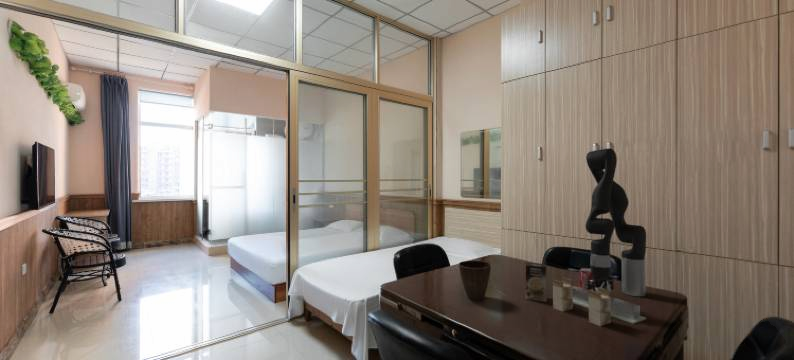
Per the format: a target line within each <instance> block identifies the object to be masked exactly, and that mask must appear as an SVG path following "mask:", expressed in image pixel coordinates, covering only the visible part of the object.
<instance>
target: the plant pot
mask: <svg viewBox="0 0 794 360" xmlns="http://www.w3.org/2000/svg"><path fill="white" fill-rule="evenodd" d="M491 266H492V264H491V263H489V262H487V261H482V260H465V261H464V260H463V261H460V262H459V263H458V268H459V273H460V278H461V283H462V285H463V288H464V291H465V294H466V296H467V299H469V298H470V299H469V300H472V299H473V300H472V301H480V300H483V299H484V298H485V294H486V292H487V289H488V285H489V281H490V274H491Z"/></svg>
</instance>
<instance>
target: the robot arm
mask: <svg viewBox="0 0 794 360" xmlns="http://www.w3.org/2000/svg"><path fill="white" fill-rule="evenodd" d="M585 159H586V163H587V166H588V169H589V171H590V172H591V174H592V176H593V177H594V180H595V182H596V184H597V185H596V186H595V188H594V189H593V192H592V195H591V205H590V206H591V207H590V211H589V215H588V217H587V219H586V221H585V230H586V232H587V233H588V234H590V235H603V236H604V237H603V238H599V239H592V240H591V241H590V257H589V258H590V261H589V263H590V269H591V274H592V275H593V276H594V278H593V280H590V279H589V280H588V290H591V289H592V291H595V290H596V292H598V288H603V289H606V290H610V293H612V291H614V289H615V287H614V286H615V285H614V283H615V282H614V277H613V276H612V259H611V240H612V237H613V234H614V231H615V235H616V238H617V239H618V241H620V243H621V242H622V243H625V244H630V245H632V247H631V248H629V249H624V250H622V251H621V253H620V254H621V255H620V256H621V292H622V293H623V294H624V295H625V294H626V295H628V296H632V297H645V296H646V294H647V293H646V291H647V290H646V267H645V266H646V262H645V260H646V259H645V257H646V252H647V251H646V250H647V249H646V248H647V232H646V229H645V227H644V226H642V225H637V224H636V225H635V224H630V223H629V224H628V223H627V222H626V219H625V213H626V211H627V210H628V207H629V204H630V203H629V198H628V196H627V193H626V191H625V189H624V188H623V187H622V186H621V184H619V183H617V182H616V181H615V180H614V179H615V173H616V169H617V162H618V157H617V153H616V151H615V150H614V149H613V148H611V147H610V148H602V149H597V150H592V151H589V152H588V153H586V158H585ZM606 214H609V215H610V218H604V217H603V218H601V217H599V216H601V215H606ZM595 286H596V288H595Z"/></svg>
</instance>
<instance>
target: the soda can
mask: <svg viewBox="0 0 794 360" xmlns="http://www.w3.org/2000/svg"><path fill="white" fill-rule="evenodd" d="M593 278H594V276H593V275H592V274H591V268H589V267H588V268H587V267H581V268H580V270H579V273H578V287H579V288H583V289H586V290H588V280H589V279H590V280H593ZM595 288H596V286H595ZM591 290H592V289H591ZM595 292H596V290H595Z"/></svg>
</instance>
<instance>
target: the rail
mask: <svg viewBox="0 0 794 360" xmlns="http://www.w3.org/2000/svg"><path fill="white" fill-rule="evenodd" d="M572 291H573V300H576V301H579V302H582V303H585V304H588V305H589V299H588V290H586V289H583V288H579V286H576V285H572ZM610 301H611V312H612V313H615V314H618V315H621V316H624V317H627V318H630V319H633V320H635V319H638V318H640V316H641V309H640V308H641V306H640V305H639V304H636V303H633V302H630V301H627V300H623V299H620V298H616V297H613V296H610Z"/></svg>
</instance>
